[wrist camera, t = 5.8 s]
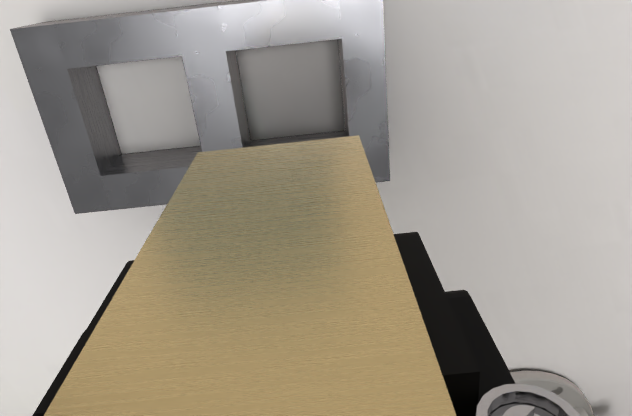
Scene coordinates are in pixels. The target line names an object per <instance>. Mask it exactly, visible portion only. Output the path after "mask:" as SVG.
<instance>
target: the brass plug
mask: <svg viewBox="0 0 632 416" xmlns="http://www.w3.org/2000/svg"><path fill="white" fill-rule="evenodd" d="M44 416H456V413H455V410H454V407H453V404H452V401H451V399H450V396H449V393H448V390H447V387H446V384H445V381H444V378H443V376H442V373H441V370H440V367H439V364H438V361H437V358H436V355H435V353H434V350H433V347H432V344H431V341H430V338H429V335H428V332H427V330H426V327H425V324H424V321H423V318H422V315H421V312H420V309H419V306H418V304H417V301H416V298H415V295H414V292H413V289H412V286H411V283H410V281H409V278H408V275H407V272H406V269H405V266H404V263H403V260H402V258H401V255H400V252H399V249H398V246H397V243H396V240H395V237H394V235H393V232H392V229H391V226H390V223H389V220H388V217H387V214H386V212H385V209H384V206H383V203H382V200H381V197H380V194H379V191H378V189H377V186H376V183H375V180H374V177H373V174H372V171H371V168H370V166H369V163H368V160H367V157H366V154H365V151H364V148H363V145H362V143H361V140H360V137H359V135H358V136H348V137H339V138H329V139H320V140H310V141H301V142H291V143H282V144H272V145H263V146H253V147H244V148H234V149H225V150H216V151H206V152H198V153H197V155H196V156H195V158H194V160H193V161H192V163H191V165H190V167H189V168H188V170H187V172H186V173H185V175H184V177H183V179H182V180H181V182H180V184H179V185H178V187H177V189H176V191H175V192H174V194H173V196H172V197H171V199H170V201H169V202H168V204H167V206H166V208H165V209H164V211H163V213H162V214H161V216H160V218H159V220H158V221H157V223H156V225H155V226H154V228H153V230H152V231H151V233H150V235H149V237H148V238H147V240H146V242H145V243H144V245H143V247H142V249H141V250H140V252H139V254H138V255H137V257H136V259H135V261H134V262H133V264H132V266H131V267H130V269H129V271H128V272H127V274H126V276H125V278H124V279H123V281H122V283H121V284H120V286H119V288H118V290H117V291H116V293H115V295H114V296H113V298H112V300H111V302H110V303H109V305H108V307H107V308H106V310H105V312H104V313H103V315H102V317H101V319H100V320H99V322H98V324H97V325H96V327H95V329H94V331H93V332H92V334H91V336H90V337H89V339H88V341H87V343H86V344H85V346H84V348H83V349H82V351H81V353H80V354H79V356H78V358H77V360H76V361H75V363H74V365H73V366H72V368H71V370H70V372H69V373H68V375H67V377H66V378H65V380H64V382H63V384H62V385H61V387H60V389H59V390H58V392H57V394H56V395H55V397H54V399H53V401H52V402H51V404H50V406H49V407H48V409H47V411H46V413H45V414H44Z"/></svg>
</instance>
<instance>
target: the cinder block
mask: <svg viewBox="0 0 632 416" xmlns="http://www.w3.org/2000/svg"><path fill="white" fill-rule="evenodd" d="M10 31H11V34H12V36H13V39H14V42H15V45H16V48H17V51H18V53H19V56H20V59H21V62H22V65H23V68H24V70H25V73H26V76H27V79H28V82H29V85H30V87H31V90H32V93H33V96H34V99H35V102H36V104H37V107H38V110H39V113H40V116H41V119H42V122H43V124H44V127H45V130H46V133H47V136H48V139H49V141H50V144H51V147H52V150H53V153H54V156H55V158H56V161H57V164H58V167H59V170H60V173H61V175H62V178H63V181H64V184H65V187H66V190H67V192H68V195H69V198H70V201H71V204H72V207H73V209H74V212H75V214H78V213H88V212H97V211H107V210H116V209H126V208H136V207H145V206H155V205H164V204H168V202H169V201H170V199H171V197H172V196H173V194H174V192H175V191H176V189H177V187H178V185H179V184H180V182H181V180H182V179H183V177H184V175H185V173H186V172H187V170H188V168H189V167H190V165H191V163H192V161H193V160H194V158H195V156H196V155H197V153H198V152H206V151H216V150H225V149H234V148H244V147H253V146H263V145H272V144H282V143H291V142H301V141H310V140H320V139H329V138H339V137H348V136H358V135H359V137H360V140H361V143H362V145H363V148H364V151H365V154H366V157H367V160H368V163H369V166H370V168H371V171H372V174H373V177H374V180H375V182H385V181H390V169H389V143H388V116H387V90H386V64H385V38H384V12H383V0H238V1H229V2H220V3H211V4H202V5H193V6H184V7H175V8H166V9H157V10H148V11H139V12H131V13H122V14H113V15H104V16H95V17H86V18H77V19H68V20H59V21H50V22H42V23H37V24H33V25H28V26H23V27H18V28H13V29H10ZM334 39H338V47H339V60H340V73H341V86H342V99H343V112H344V125H345V131H338V132H328V133H319V134H309V135H300V136H291V137H281V138H272V139H262V140H253V141H251V140H250V134H249V128H248V122H247V116H246V110H245V104H244V98H243V92H242V86H241V80H240V74H239V68H238V62H237V56H236V50H243V49H252V48H261V47H270V46H279V45H289V44H298V43H307V42H316V41H325V40H334ZM179 56H182V59H183V64H184V69H185V73H186V78H187V83H188V87H189V92H190V97H191V101H192V106H193V111H194V116H195V120H196V125H197V130H198V134H199V139H200V144H201V146H197V147H187V148H178V149H168V150H159V151H150V152H140V153H131V154H121V151H120V148H119V144H118V141H117V138H116V134H115V131H114V127H113V124H112V120H111V117H110V113H109V110H108V106H107V103H106V100H105V96H104V93H103V89H102V86H101V82H100V79H99V75H98V72H97V68H96V66H97V65H106V64H115V63H125V62H134V61H143V60H152V59H161V58H170V57H179Z"/></svg>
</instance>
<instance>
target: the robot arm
mask: <svg viewBox="0 0 632 416" xmlns="http://www.w3.org/2000/svg"><path fill="white" fill-rule="evenodd" d="M393 235H394V237H395V240H396V243H397V246H398V249H399V252H400V255H401V258H402V260H403V263H404V266H405V269H406V272H407V275H408V278H409V281H410V283H411V286H412V289H413V292H414V295H415V298H416V301H417V304H418V306H419V309H420V312H421V315H422V318H423V321H424V324H425V327H426V330H427V332H428V335H429V338H430V341H431V344H432V347H433V350H434V353H435V355H436V358H437V361H438V364H439V367H440V370H441V373H442V376H443V378H444V381H445V384H446V387H447V390H448V393H449V396H450V399H451V401H452V404H453V407H454V410H455V413H456V416H594V414H593V411H592V407H591V405H590V403H589V402H588V400H587V399H586V397H585V395H584V394H583V393H582V392H581V390H580V389H579V388H578V387H577V386H576V385H575V384H573V383H572V382H570V381H569V380H567V379H566V378H563V377H561V376H558V375H556V374H552V373H547V372H543V371H516V372H509V370H508V368H507V366H506V364H505V362H504V360H503V358H502V356H501V354H500V353H499V351H498V349H497V347H496V345H495V343H494V341H493V339H492V337H491V335H490V333H489V331H488V329H487V327H486V326H485V324H484V322H483V320H482V318H481V316H480V314H479V312H478V310H477V308H476V306H475V304H474V302H473V300H472V299H471V297H470V295H469V294H468V292H467V291H465V290H459V291H448V292H444V290H443V287H442V285H441V283H440V281H439V278H438V276H437V274H436V272H435V269H434V267H433V265H432V263H431V260H430V258H429V256H428V254H427V251H426V249H425V247H424V245H423V242H422V240H421V238H420V236H419V234H418V232H411V233H401V234H393ZM134 261H135V260H133V261H128V262H127V264H126V265H125V267H124V268H123V270H122V272H121V273H120V275H119V277H118V278H117V280H116V282H115V283H114V285H113V287H112V288H111V290H110V292H109V293H108V295H107V296H106V298H105V300H104V301H103V303H102V305H101V306H100V308H99V310H98V311H97V313H96V315H95V316H94V318H93V320H92V321H91V323H90V324H89V326H88V328H87V329H86V330H85V331H84V333H83V334H82V335H81V337H80V339H79V340H78V342H77V344H76V345H75V347H74V349H73V350H72V352H71V354H70V355H69V357H68V358H67V360H66V362H65V363H64V365H63V367H62V368H61V370H60V372H59V373H58V375H57V376H56V378H55V380H54V381H53V383H52V385H51V386H50V388H49V390H48V391H47V393H46V394H45V396H44V398H43V399H42V401H41V403H40V404H39V406H38V408H37V409H36V411H35V412H34V414H33V416H44V414H45V413H46V411H47V409H48V407H49V406H50V404H51V402H52V401H53V399H54V397H55V395H56V394H57V392H58V390H59V389H60V387H61V385H62V384H63V382H64V380H65V378H66V377H67V375H68V373H69V372H70V370H71V368H72V366H73V365H74V363H75V361H76V360H77V358H78V356H79V354H80V353H81V351H82V349H83V348H84V346H85V344H86V343H87V341H88V339H89V337H90V336H91V334H92V332H93V331H94V329H95V327H96V325H97V324H98V322H99V320H100V319H101V317H102V315H103V313H104V312H105V310H106V308H107V307H108V305H109V303H110V302H111V300H112V298H113V296H114V295H115V293H116V291H117V290H118V288H119V286H120V284H121V283H122V281H123V279H124V278H125V276H126V274H127V272H128V271H129V269H130V267H131V266H132V264H133V262H134Z"/></svg>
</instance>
